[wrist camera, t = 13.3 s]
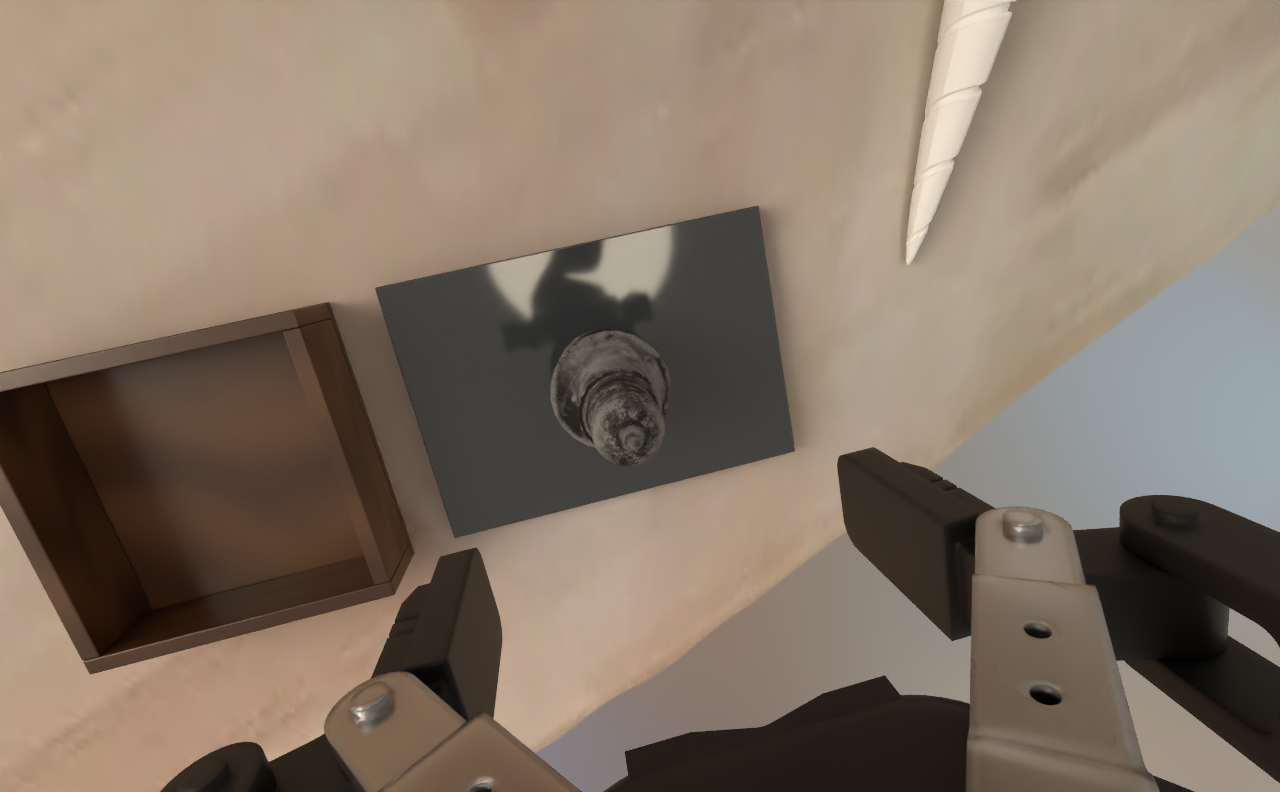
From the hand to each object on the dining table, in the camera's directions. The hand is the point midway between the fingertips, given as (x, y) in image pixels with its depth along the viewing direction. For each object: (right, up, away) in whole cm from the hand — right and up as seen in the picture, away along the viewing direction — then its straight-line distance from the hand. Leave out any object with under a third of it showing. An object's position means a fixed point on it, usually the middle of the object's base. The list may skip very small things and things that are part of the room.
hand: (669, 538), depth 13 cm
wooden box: (-22, -1, +19) cm, 29 cm away
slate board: (-3, +4, +20) cm, 21 cm away
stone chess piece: (-3, +4, +19) cm, 20 cm away
